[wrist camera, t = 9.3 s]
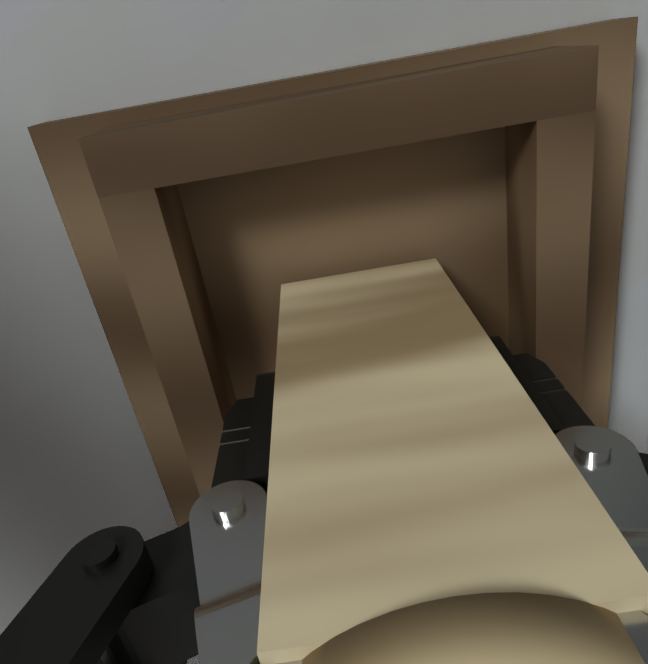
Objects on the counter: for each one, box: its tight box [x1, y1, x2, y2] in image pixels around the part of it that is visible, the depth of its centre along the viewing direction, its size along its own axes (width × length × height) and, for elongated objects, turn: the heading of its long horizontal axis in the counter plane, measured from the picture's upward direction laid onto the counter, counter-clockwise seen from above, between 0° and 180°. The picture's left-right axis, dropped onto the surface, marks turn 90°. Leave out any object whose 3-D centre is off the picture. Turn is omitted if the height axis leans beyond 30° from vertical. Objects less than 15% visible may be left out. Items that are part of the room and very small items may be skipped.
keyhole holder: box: [27, 17, 638, 527], centre depth 18 cm, size 25×14×3 cm, turn 9°
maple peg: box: [257, 258, 648, 664], centre depth 10 cm, size 5×5×11 cm
